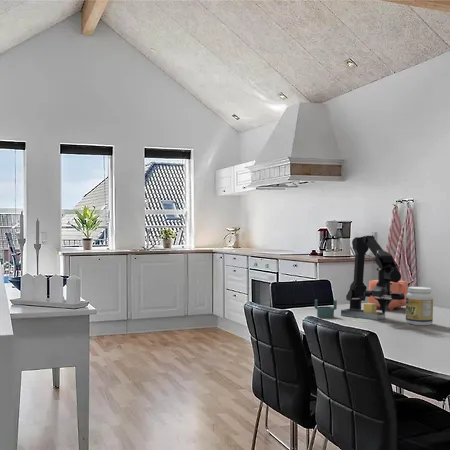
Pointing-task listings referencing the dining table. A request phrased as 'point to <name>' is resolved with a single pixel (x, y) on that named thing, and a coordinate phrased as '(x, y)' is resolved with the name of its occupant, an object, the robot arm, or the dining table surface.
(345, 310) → the rail
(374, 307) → the block
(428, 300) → the supplement tub
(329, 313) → the bracket
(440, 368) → the dining table surface
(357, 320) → the pad
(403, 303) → the teapot
